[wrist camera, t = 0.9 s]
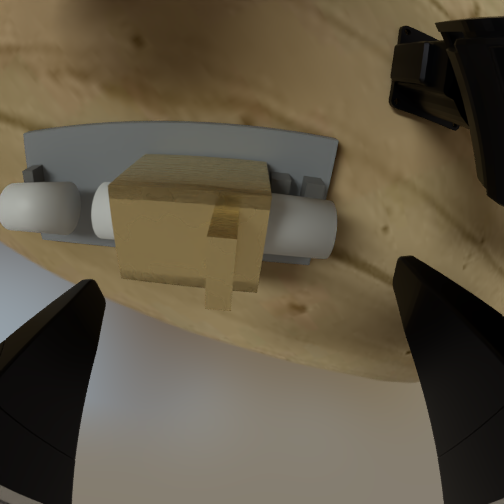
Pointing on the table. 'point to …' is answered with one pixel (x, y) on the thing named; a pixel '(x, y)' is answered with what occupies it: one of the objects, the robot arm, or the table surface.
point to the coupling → (192, 223)
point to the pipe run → (171, 143)
